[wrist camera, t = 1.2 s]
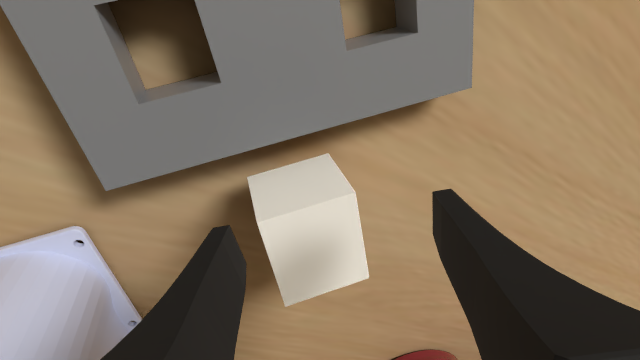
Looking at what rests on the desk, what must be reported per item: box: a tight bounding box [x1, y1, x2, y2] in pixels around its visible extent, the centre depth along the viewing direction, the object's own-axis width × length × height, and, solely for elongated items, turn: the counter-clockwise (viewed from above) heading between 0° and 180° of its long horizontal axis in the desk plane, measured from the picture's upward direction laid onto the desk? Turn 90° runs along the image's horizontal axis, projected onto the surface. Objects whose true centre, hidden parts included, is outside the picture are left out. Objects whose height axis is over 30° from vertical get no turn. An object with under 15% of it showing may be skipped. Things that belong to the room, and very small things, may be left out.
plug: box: [247, 153, 369, 307], centre depth 22 cm, size 7×5×6 cm
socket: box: [0, 0, 474, 191], centre depth 18 cm, size 11×20×3 cm, turn 102°
